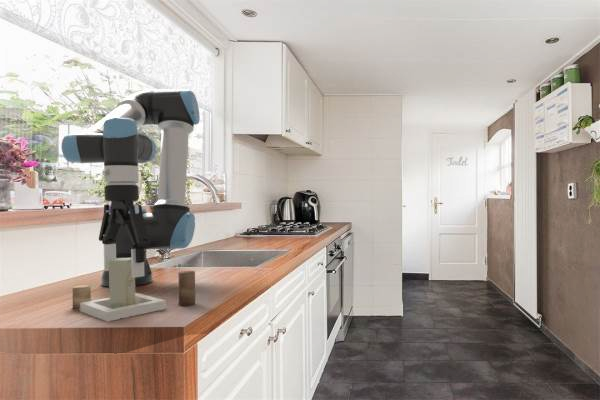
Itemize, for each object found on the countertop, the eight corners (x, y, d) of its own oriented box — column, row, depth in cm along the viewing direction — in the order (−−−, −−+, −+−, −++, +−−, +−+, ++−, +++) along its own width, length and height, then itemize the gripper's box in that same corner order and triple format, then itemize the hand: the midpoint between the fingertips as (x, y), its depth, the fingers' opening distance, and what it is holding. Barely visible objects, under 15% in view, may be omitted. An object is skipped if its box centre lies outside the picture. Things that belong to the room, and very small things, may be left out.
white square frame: (80, 311, 102) (80, 302, 102) (136, 300, 113) (136, 292, 113) (107, 321, 93) (107, 312, 93) (165, 308, 104) (165, 300, 104)
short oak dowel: (69, 307, 106) (69, 287, 106) (86, 304, 109) (86, 284, 109) (76, 310, 104) (76, 289, 104) (93, 306, 107) (93, 286, 107)
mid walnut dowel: (175, 304, 108) (175, 272, 108) (189, 301, 111) (188, 270, 111) (184, 306, 105) (184, 273, 105) (198, 303, 108) (198, 271, 108)
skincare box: (128, 313, 100) (127, 260, 100) (108, 313, 100) (107, 260, 100) (136, 306, 107) (135, 256, 107) (117, 307, 106) (116, 257, 106)
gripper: (83, 185, 108) (85, 269, 109) (132, 183, 92) (135, 282, 92) (112, 185, 114) (114, 265, 115) (164, 183, 98) (166, 277, 98)
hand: (123, 273), depth 104 cm, fingers open, 13 cm apart
